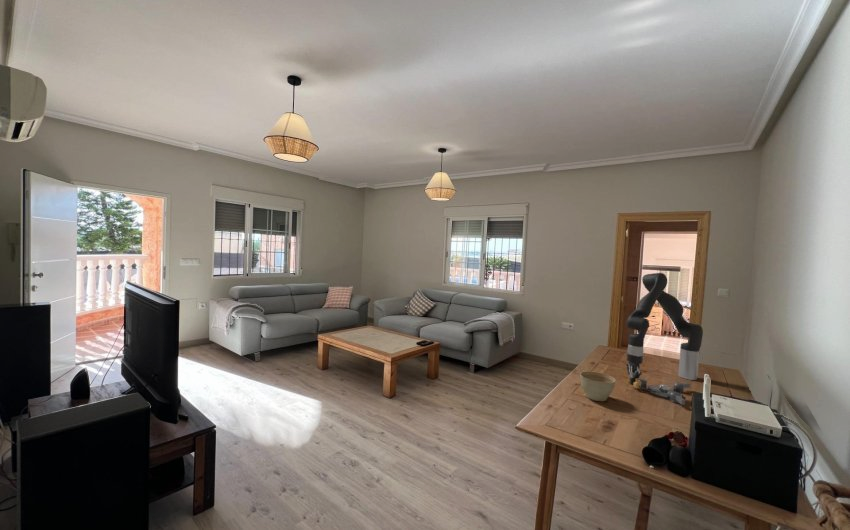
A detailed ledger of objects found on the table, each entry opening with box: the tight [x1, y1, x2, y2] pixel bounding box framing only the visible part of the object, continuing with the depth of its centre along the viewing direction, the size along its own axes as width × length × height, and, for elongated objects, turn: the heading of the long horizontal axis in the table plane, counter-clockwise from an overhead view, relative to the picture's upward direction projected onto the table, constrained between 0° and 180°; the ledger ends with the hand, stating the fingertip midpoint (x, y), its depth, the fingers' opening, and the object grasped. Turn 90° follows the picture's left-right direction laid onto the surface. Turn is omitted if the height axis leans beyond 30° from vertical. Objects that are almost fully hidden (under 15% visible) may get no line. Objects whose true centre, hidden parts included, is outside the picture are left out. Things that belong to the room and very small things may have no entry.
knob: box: [669, 391, 686, 406], centre depth 177 cm, size 10×4×3 cm, turn 170°
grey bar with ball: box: [673, 381, 691, 392], centre depth 194 cm, size 10×4×3 cm, turn 110°
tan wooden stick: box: [632, 378, 648, 388], centre depth 195 cm, size 10×4×3 cm, turn 123°
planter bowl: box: [579, 370, 617, 402], centre depth 180 cm, size 16×16×11 cm
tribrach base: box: [638, 383, 683, 404], centre depth 191 cm, size 21×19×4 cm
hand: (632, 384), depth 196 cm, fingers closed
